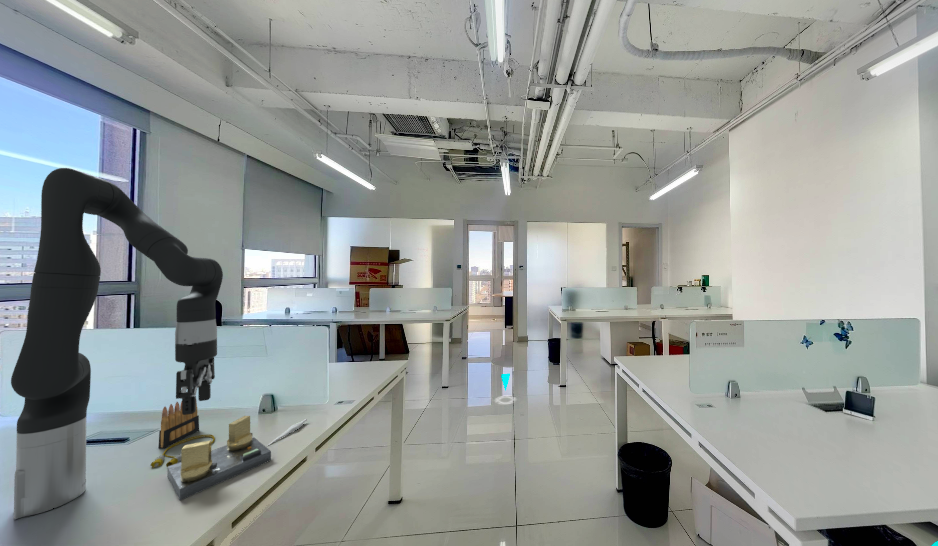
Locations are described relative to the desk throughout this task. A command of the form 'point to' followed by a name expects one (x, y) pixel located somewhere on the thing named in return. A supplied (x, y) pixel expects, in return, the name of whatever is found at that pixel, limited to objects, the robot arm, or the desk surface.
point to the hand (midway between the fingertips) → (197, 406)
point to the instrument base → (220, 468)
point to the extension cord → (175, 459)
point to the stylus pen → (290, 430)
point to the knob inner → (196, 461)
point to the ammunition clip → (176, 425)
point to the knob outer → (239, 434)
